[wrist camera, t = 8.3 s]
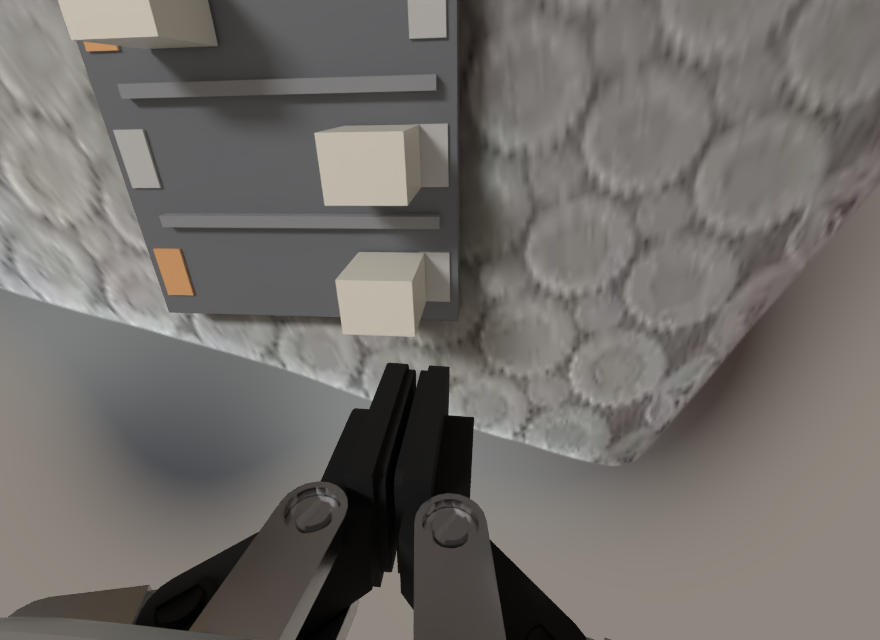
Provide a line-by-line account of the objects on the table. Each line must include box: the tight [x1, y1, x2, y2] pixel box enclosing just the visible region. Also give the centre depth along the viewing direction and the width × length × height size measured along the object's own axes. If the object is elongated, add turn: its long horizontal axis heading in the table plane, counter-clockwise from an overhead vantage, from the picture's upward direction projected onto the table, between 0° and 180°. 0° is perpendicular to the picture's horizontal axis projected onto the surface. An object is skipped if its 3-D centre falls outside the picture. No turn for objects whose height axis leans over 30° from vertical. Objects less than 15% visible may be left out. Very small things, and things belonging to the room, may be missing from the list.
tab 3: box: [335, 252, 426, 337], centre depth 25 cm, size 4×3×4 cm
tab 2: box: [314, 124, 421, 206], centre depth 22 cm, size 4×3×4 cm
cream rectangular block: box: [58, 0, 218, 49], centre depth 20 cm, size 4×3×4 cm
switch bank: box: [77, 0, 460, 321], centre depth 25 cm, size 20×20×3 cm
